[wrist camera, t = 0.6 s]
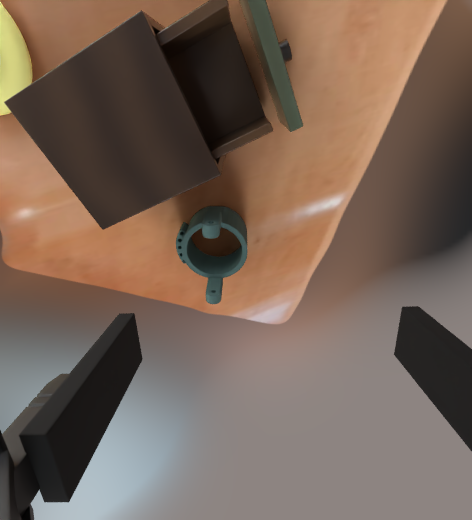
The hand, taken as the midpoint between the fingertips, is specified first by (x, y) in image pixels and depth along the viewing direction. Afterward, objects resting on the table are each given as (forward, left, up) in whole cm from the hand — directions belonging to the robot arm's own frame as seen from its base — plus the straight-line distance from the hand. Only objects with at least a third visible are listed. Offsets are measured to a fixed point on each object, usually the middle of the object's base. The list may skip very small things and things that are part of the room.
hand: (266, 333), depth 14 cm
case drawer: (-4, -10, -25) cm, 27 cm away
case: (+5, -13, -25) cm, 29 cm away
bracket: (+8, +2, -26) cm, 27 cm away
